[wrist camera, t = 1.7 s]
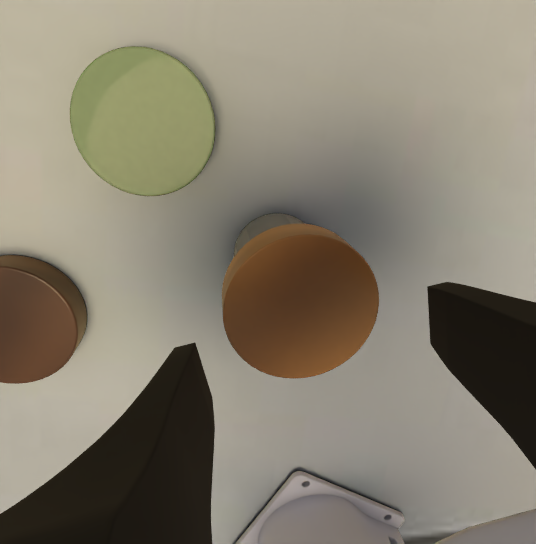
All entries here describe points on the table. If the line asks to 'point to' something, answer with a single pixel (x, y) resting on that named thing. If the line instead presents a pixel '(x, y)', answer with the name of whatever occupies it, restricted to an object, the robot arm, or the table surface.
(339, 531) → the robot arm
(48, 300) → the walnut chip
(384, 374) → the table surface
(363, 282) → the copper chip
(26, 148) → the table surface
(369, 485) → the table surface
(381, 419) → the table surface
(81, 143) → the green chip
